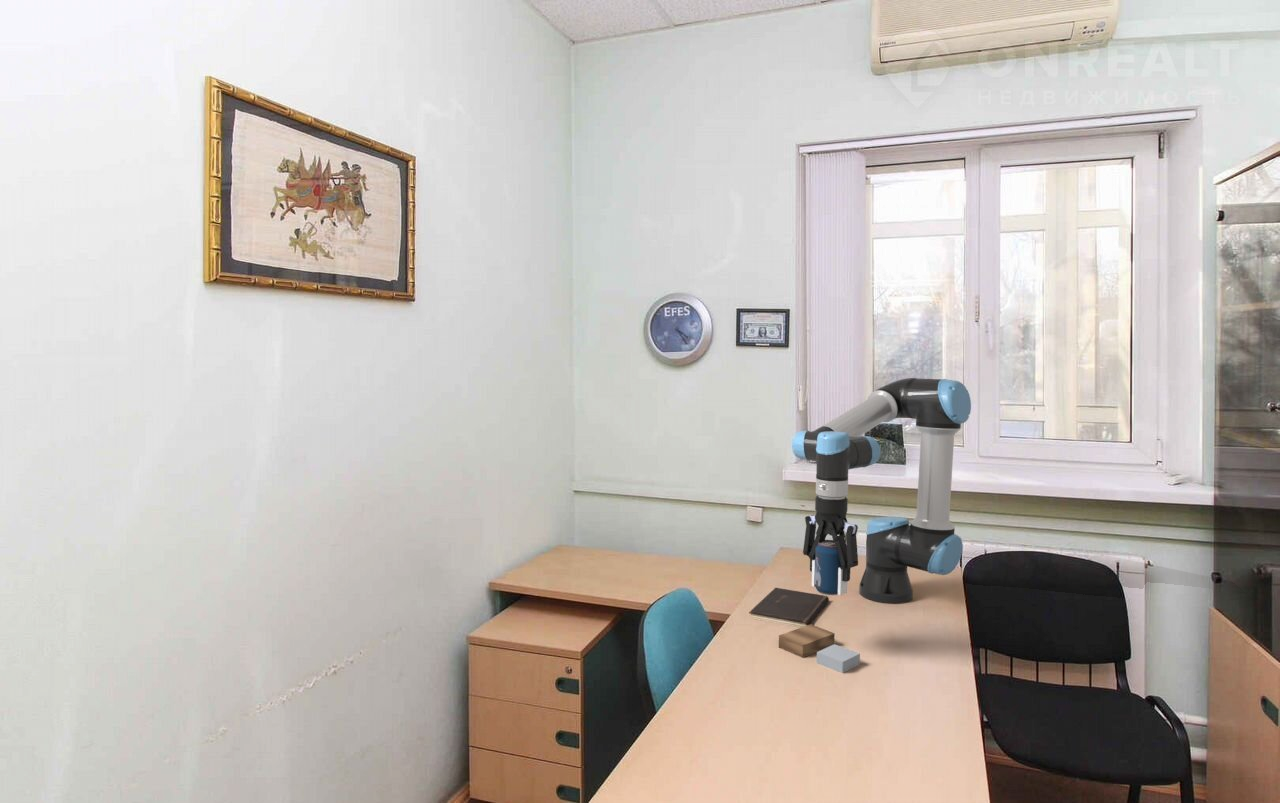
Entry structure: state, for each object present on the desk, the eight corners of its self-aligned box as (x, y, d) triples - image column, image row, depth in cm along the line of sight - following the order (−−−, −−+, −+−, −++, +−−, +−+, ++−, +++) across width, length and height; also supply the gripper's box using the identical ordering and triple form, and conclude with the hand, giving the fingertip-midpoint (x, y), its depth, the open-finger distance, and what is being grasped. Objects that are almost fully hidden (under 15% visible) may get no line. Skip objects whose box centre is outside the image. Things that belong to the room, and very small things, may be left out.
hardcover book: (748, 620, 202) (748, 612, 202) (775, 595, 223) (775, 587, 222) (806, 631, 195) (807, 622, 195) (828, 603, 215) (828, 596, 215)
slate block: (834, 656, 179) (834, 644, 179) (859, 665, 174) (860, 653, 173) (816, 664, 174) (816, 652, 174) (842, 674, 169) (842, 661, 169)
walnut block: (810, 635, 191) (810, 624, 190) (834, 645, 185) (834, 633, 184) (778, 647, 183) (778, 635, 183) (802, 657, 177) (802, 645, 177)
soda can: (848, 590, 181) (850, 542, 180) (835, 598, 176) (836, 548, 175) (823, 584, 185) (824, 537, 184) (809, 591, 180) (810, 543, 179)
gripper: (788, 491, 184) (786, 582, 186) (857, 505, 169) (855, 604, 171) (807, 487, 189) (805, 576, 191) (876, 501, 173) (873, 597, 175)
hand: (829, 589), depth 181 cm, fingers closed on soda can, 7 cm apart
